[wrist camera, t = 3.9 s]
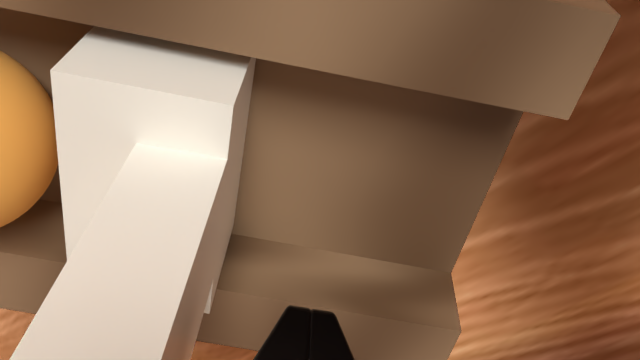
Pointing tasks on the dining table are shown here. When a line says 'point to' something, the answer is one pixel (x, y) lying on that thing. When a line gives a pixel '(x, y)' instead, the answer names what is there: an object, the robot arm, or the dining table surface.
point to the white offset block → (141, 195)
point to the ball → (24, 140)
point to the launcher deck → (337, 148)
